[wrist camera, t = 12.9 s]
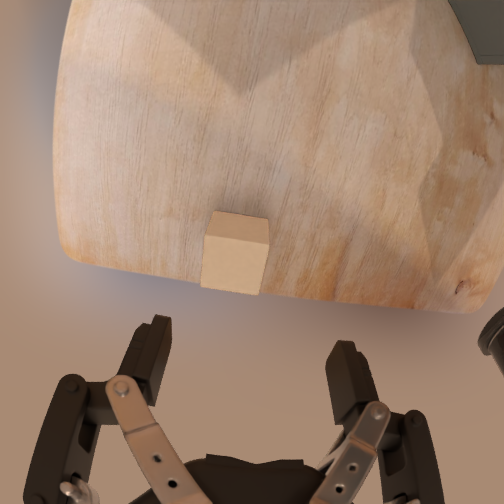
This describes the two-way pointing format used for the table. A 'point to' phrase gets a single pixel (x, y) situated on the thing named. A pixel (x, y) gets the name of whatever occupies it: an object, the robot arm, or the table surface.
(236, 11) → the table surface
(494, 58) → the grey box
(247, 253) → the tan cube
